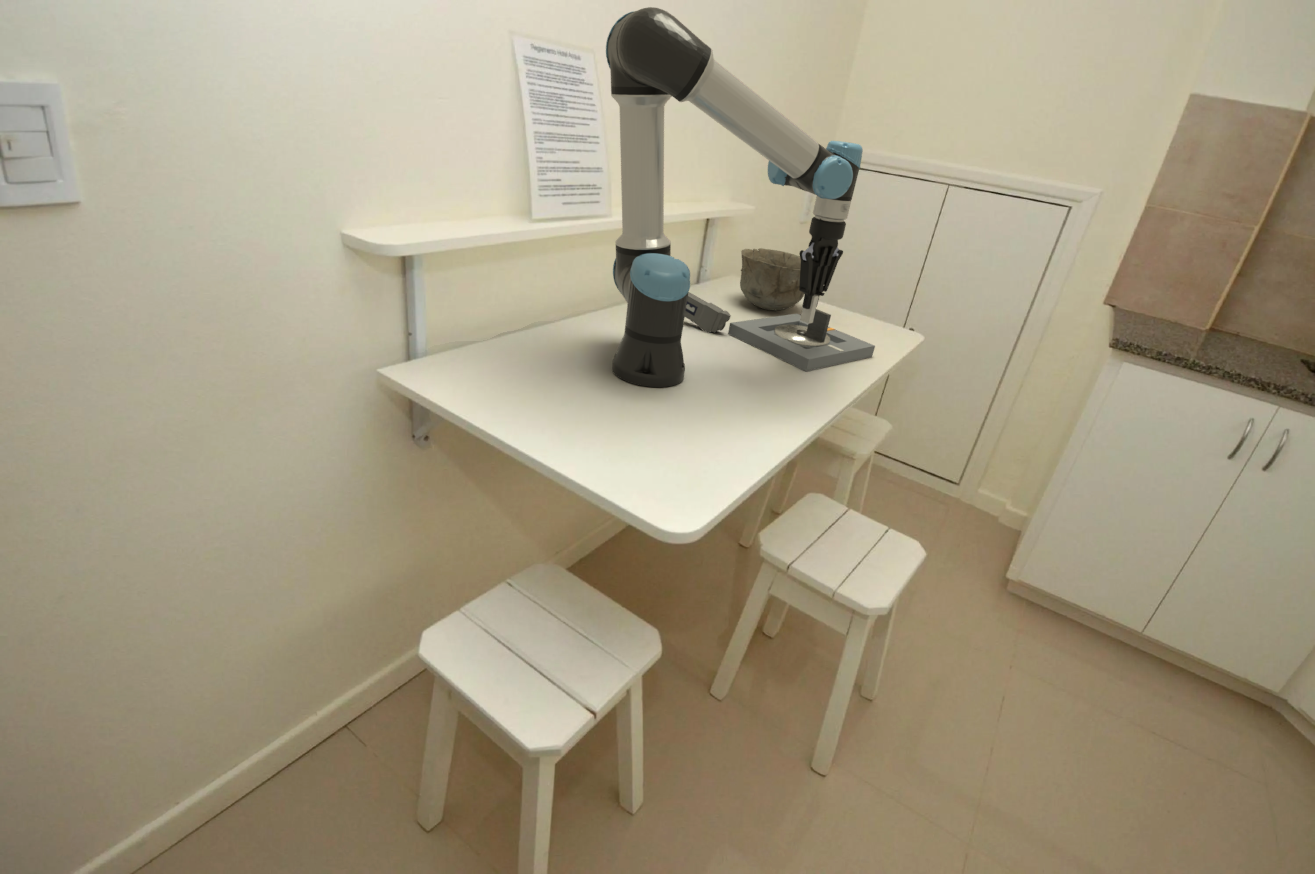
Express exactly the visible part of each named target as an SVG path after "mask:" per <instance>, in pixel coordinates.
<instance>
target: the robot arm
mask: <svg viewBox="0 0 1315 874" xmlns="http://www.w3.org/2000/svg"><path fill="white" fill-rule="evenodd" d="M610 28H611V29H610V31H609V33H608V35H607V39H606V44H605V57H606V58H605V59H606V62H607V64H608V67H609V70H610V94H611V98H612V99H614V101H615V102H616V103H617V104H618V106H619V139H620V140H619V143H620V144H619V145H620V146H619V147H620V176H621V177H620V180H621V182H620V183H621V184H620V185H621V188H620V189H621V219H622V220H621V225H622V228H621V229H622V233H621V235H620V236H619V237H618V238H616V240H615V258H614V261H613V265H612V277H613V282H614V284H615V286H616V288H617V290H618V292H619V293H620V294H621V296H622V297H623V298H624V300H625V301H626V304H627V307H626V313H625V314H626V316H625V326H624V333H623V337H622V339H621V341H620V343H619V346H618V348H617V351H616V353H615V354H614V356H613V359H612V369H611V370H612V372H613V373H614V375H615V376H616V377H617V378H619V379H621V380H623V381H624V382H626V383H627V382H628V383H630V384H634V385H636V386H637V385H638V386H641V387H649V388H650V387H651V388H667V387H672V386H676V385H678V384H681V382H683V380H684V378H685V372H686V365H685V363H684V362H685V361H684V359H685V358H684V354H683V353H684V352H683V349H682V336H683V331H684V330H683V329H684V322H685V318H686V317H685V311H686V304H687V298H688V292H689V291H690V289H691V270H690V268H689V266H688V265H687V264H686V263H685V262H684V261H683V260H681V259H679V258H675V257H674V256H671V254H672V253H671V240H670V239H669V238H668V236H666V235H665V233H664V225H665V224H664V209H665V207H664V204H665V203H664V201H665V200H664V196H665V193H664V191H665V190H664V188H665V187H664V186H665V183H664V181H665V180H664V179H665V171H664V169H665V106H666V104H667V102H668V101H669V100H670V99H671V98H672V97H673V98H674V99H675V100H676V101H678V102H679V103H684V102H689V103H690V104H692V105H694V106H695V107H696V108H697V109H698V110H700V111H702V112H703V113H704V114H706V115H707V116H708V117H710V119H713V120H714V121H715V122H716V123H718V124H719V125H721V126H722V127H723V128H725V129H726V130H727V131H728V132H730V133H731V134H732V135H734V136H735V137H737V138H738V139H739V140H741V141H742V142H743V143H745V144H746V145H747V146H749V147H750V148H751V149H753V150H754V151H755V152H757V153H758V154H759V155H761V156H762V157H763V158H765V159H766V160H768V163H767V178H768V180H769V182H770V183H771V184H773V185H778V186H779V185H780V186H782V187H784V186H787V187H794V188H797V189H799V190H802V191H804V192H808V193H810V194H812V195H815V196H816V197H815V202H814V205H813V210H812V214H813V215H814V216H813V217H812V218H811V221H810V224H809V225H810V226H809V230H808V233H809V235H810V236H811V239H810V241H809V243H808V247H807V249H805V250H803V249H802V250H800V251H799V255H798V256H800V259H801V267H800V285H799V291H801V292H803V293H804V296H803V300H802V304H801V305H802V306H801V314H800V315H801V317H800V320H801V321H804V322H806V323H808V324H809V323H813V319H814V315H815V311H816V309H817V308H818V304H819V300H820V297H821V296H822V297H823V296H825V293H824V292H826V293H827V291H828V289H829V286H830V284H831V282H832V279H833V276H834V273H835V270H836V269H837V265H838V263H839V261H840V259H841V257H842V256H843V253H844V250H842V249H839V247H838V246H839V240H842V239H843V237H844V235H845V230H846V226H847V222H846V221H845V220H847V219H848V216H849V214H850V213H849V212H850V209H851V203H852V199H853V197H854V196H853V195H854V191H855V187H856V183H857V180H858V176H859V172H860V169H861V163H862V158H863V151H864V150H863V147H862V145H861V144H860V143H854V142H847V141H840V140H830V141H828V142H827V146H826V147H824V146H823V145H822V144H819V143H818V141H817V140H815V139H814V138H813V137H811V136H810V135H809V134H808V133H807V132H805V131H804V130H802V129H801V128H800V127H799V126H798V125H796V124H795V123H794V122H793V121H791V120H790V119H789V118H788V117H786V116H785V115H784V114H782V113H781V111H779V110H778V109H776V108H775V107H774V106H773V105H771V104H770V103H769V102H768V101H766V99H764V98H763V97H761V96H760V95H759V94H758V93H757V92H755V91H754V90H753V89H752V88H750V87H749V86H748V85H747V84H745V83H744V82H743V81H741V80H740V79H739V78H738V77H737V76H735V75H734V74H733V73H732V72H731V71H729V70H728V69H726V68H725V67H724V66H723V65H722V64H720V63H719V62H718V61H717V60H715V58H714V52H713V51H714V50H713V49H712V48H711V47H710V46H709V45H707V44H706V43H705V42H704V41H702V40H701V39H700V38H699V37H698V36H697V35H696V34H695V33H694V32H692V30H690V29H689V28H688V27H687V26H686V25H684V24H683V23H682V22H681V21H680V20H679V19H678V18H676V16H674V15H672V14H671V13H669V12H668V11H667V10H664V9H662V8H659V7H651V6H650V7H649V6H648V7H643V8H641V9H638V10H635V11H634V10H633V11H630V12H627V13H625V14H624V15H622V16H621V17H619V18H618V19H617V20H616V21H615V23H614V24H613V25H612V27H610Z"/></svg>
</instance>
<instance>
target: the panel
mask: <svg viewBox="0 0 1315 874" xmlns="http://www.w3.org/2000/svg"><path fill="white" fill-rule="evenodd" d="M800 317H801V314H800V313H792V314H790V313H789V314H786V315H783V314H782V315H778V316H769V317H763V318H756V319H747V320H739V321H733V322H729V327H728V331H727V332H728V333H727V335H729V336H731V337H733V338H736V339H738V340H740V341H741V342H744V343H746V344H747V345H749V346H751V347H754V348H757V350H760V351H762V352H765V353H766V354H769V355H771V356H772V357H775V358H777V359H779V360H781V361H783V362H785V363H787V364H789V365H792V366H794V367H795V368H798V369H800V370H801V371H804V372H810V371H815V370H819V369H823V368H828V367H833V366H836V365H841V364H847V363H851V362H855V361H859V360H864V359H869V358H872V357H873V354H874V351H875V349H876V345H874V344H872V343H870V342H867V341H864V340H863V339H860V338H857V337H855V336H853V335H850V334H848V333H845V332H843V331H840V330H838V329H836V328H833V327H831V326H828V329H827V333H826V334H827V335H828V336H829V337H830V342H829V345H825V346H820V347H814V348H809V349H805V348H803V347H801V346H798V345H796V344H794V343H792V342H790V341H787V340H785V339H783V338H781V337H778V336H776V335H774V330H775V327H777V326H779V325H800V326H805V327H808V323H806V322H804V321H801V320H800Z"/></svg>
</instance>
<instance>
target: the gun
mask: <svg viewBox="0 0 1315 874" xmlns="http://www.w3.org/2000/svg"><path fill="white" fill-rule="evenodd" d="M731 317H732V315H731V314H730V312H729V311H727V310H724V309H722V308H721V307H719V306H718V305H716V304H715V303H712V302H707V301H706V300H705V299H703V298H700V297H699V296H697V295H695V294H693V293H692V292H689V291H688V298H687V304H686V311H685V317H684V318H686V319H688V320H689V321H691V322H692V323H694V324H695V325H696V326H697V327H698V328H699V329H701V330H702V331H703V332H705V333H708V334H710V333H716V332H718V331H723V330H724V329H725V327H726V324H727V322H729V320H730V319H731Z"/></svg>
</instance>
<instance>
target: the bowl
mask: <svg viewBox="0 0 1315 874" xmlns="http://www.w3.org/2000/svg"><path fill="white" fill-rule="evenodd" d="M740 252H741V269H740V273H741V275H740V281H739V286H740V290H741V292H742V294H743V296H744V297H745V299H747V301H749V302H750V303H751V304H753V305H754V306H756V307H757V308H760V309H763V310H765V311H766V310H767V311H783V310H788V309H790V308H793V307H795V305H797V304H798V303H799V302H800V301H802V299H804V296H805V294H804V293H803V292H801V291H799V285H800V267H801V259H800V255H796V254H793V253H789V252H786V251H781V250H775V249H771V248H770V249H769V248H767V249H766V248H762V247H761V248H752V249H750V248H744V249H741V250H740Z"/></svg>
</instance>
